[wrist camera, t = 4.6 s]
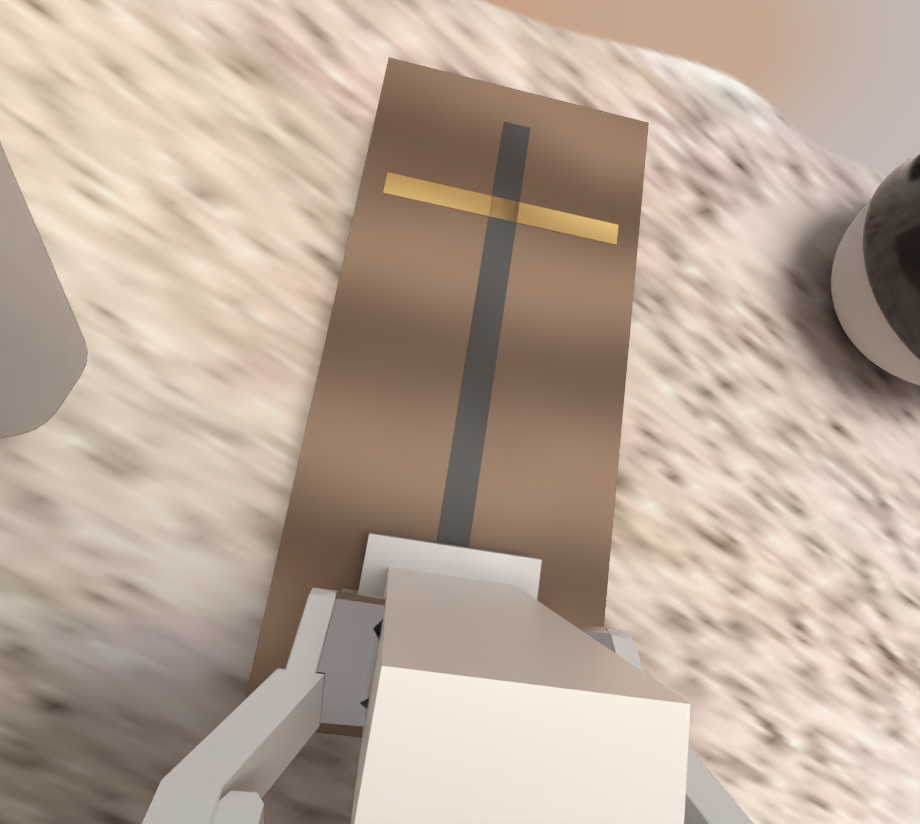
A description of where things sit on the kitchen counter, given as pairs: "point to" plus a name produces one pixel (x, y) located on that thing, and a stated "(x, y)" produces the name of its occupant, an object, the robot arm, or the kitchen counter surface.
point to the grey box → (31, 320)
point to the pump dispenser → (884, 275)
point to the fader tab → (504, 703)
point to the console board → (471, 348)
